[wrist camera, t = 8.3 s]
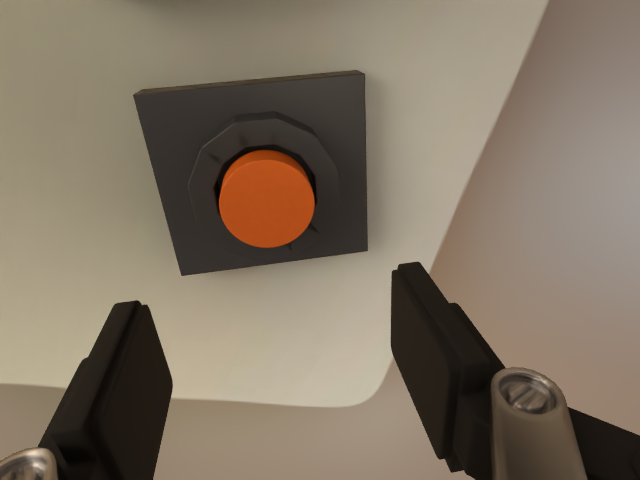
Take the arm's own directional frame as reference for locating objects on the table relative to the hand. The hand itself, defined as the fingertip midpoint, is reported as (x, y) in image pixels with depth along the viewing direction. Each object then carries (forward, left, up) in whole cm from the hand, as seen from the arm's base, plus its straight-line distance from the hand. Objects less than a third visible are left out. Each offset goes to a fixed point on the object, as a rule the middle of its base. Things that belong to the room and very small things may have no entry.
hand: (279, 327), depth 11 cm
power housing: (0, 0, -14) cm, 14 cm away
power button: (0, 0, -11) cm, 11 cm away
